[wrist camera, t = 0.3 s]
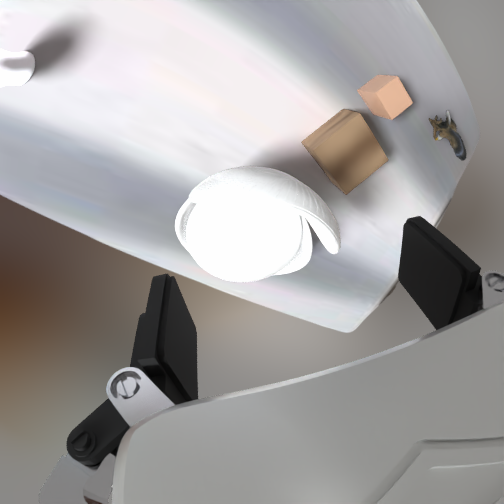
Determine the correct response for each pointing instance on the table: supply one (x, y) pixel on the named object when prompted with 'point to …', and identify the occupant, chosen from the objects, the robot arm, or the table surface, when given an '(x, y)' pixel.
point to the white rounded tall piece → (15, 67)
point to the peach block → (385, 96)
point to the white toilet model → (253, 224)
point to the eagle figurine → (449, 134)
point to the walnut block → (346, 150)
